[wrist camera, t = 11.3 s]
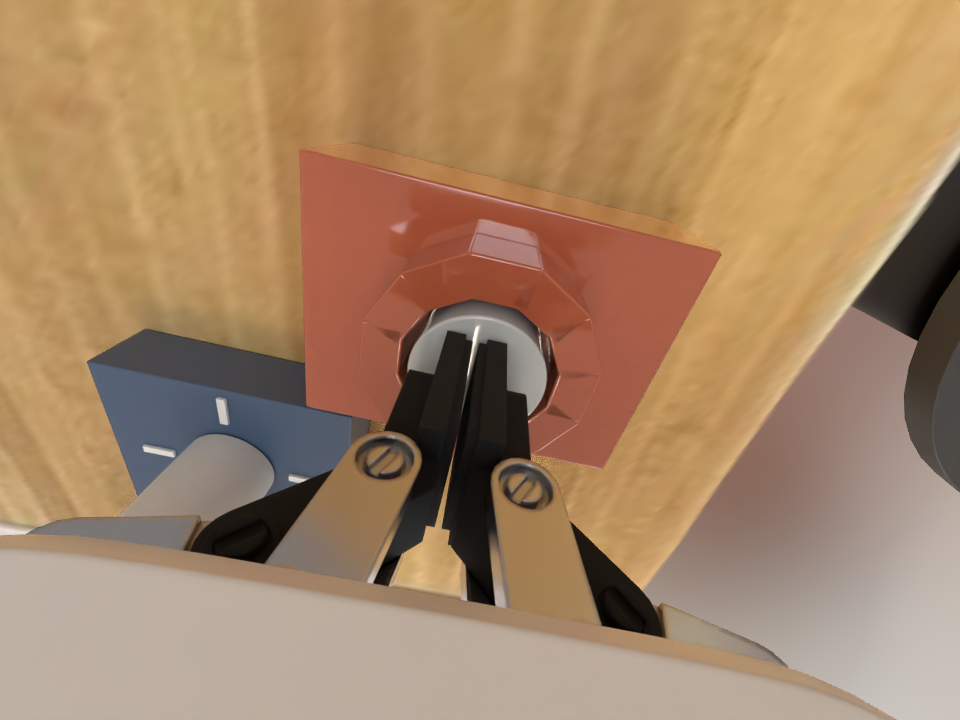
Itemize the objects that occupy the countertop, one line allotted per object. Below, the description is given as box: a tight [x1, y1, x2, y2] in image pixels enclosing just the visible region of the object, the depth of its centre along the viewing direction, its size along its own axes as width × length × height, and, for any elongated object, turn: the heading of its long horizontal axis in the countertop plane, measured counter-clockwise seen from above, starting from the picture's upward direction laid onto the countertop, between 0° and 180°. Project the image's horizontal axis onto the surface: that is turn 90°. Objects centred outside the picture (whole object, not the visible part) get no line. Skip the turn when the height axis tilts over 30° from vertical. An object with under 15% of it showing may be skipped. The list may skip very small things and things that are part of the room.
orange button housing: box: [300, 143, 721, 469], centre depth 14 cm, size 12×9×6 cm
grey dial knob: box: [118, 434, 274, 521], centre depth 16 cm, size 4×4×5 cm
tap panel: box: [87, 329, 369, 497], centre depth 20 cm, size 11×9×3 cm
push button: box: [407, 299, 547, 416], centre depth 12 cm, size 4×4×2 cm
